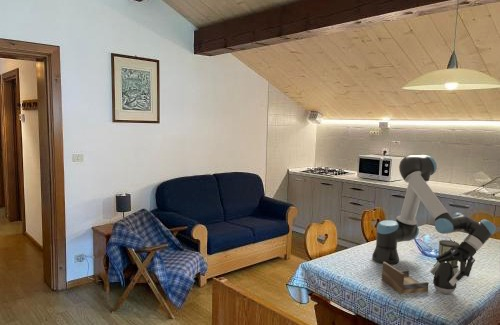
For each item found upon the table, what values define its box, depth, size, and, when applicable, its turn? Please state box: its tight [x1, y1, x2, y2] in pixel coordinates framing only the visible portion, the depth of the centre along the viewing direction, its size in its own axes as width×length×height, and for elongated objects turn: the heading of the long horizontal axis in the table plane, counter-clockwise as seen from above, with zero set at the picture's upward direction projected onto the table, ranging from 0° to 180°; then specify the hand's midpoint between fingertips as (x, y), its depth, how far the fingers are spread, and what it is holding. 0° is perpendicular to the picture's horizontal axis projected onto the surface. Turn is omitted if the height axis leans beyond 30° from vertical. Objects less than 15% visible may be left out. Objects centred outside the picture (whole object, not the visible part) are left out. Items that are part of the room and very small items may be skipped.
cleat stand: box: [381, 262, 429, 295], centre depth 191 cm, size 15×16×10 cm
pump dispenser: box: [432, 262, 459, 295], centre depth 185 cm, size 10×10×15 cm
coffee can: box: [437, 239, 460, 270], centre depth 219 cm, size 10×10×14 cm
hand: (440, 278), depth 184 cm, fingers open, 12 cm apart
